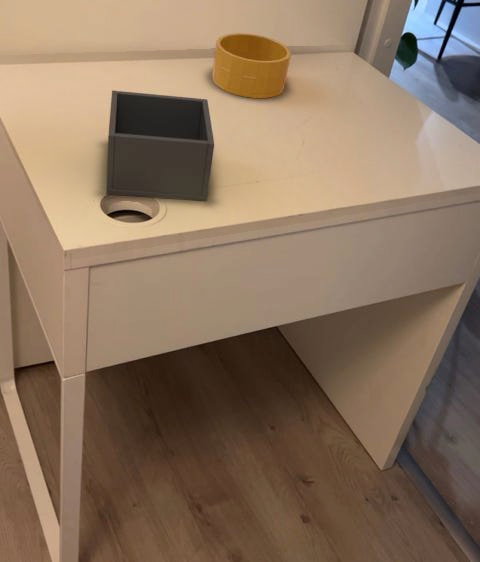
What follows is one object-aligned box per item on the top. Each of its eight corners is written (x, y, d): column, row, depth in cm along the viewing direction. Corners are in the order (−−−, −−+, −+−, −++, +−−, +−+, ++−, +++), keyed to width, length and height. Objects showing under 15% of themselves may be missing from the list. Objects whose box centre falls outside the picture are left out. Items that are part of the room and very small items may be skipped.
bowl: (215, 94, 96) (220, 58, 93) (209, 64, 104) (214, 29, 101) (288, 101, 98) (296, 65, 95) (278, 71, 106) (284, 37, 103)
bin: (106, 194, 74) (108, 135, 70) (109, 145, 82) (112, 90, 78) (206, 201, 75) (214, 144, 71) (200, 153, 83) (207, 99, 79)
